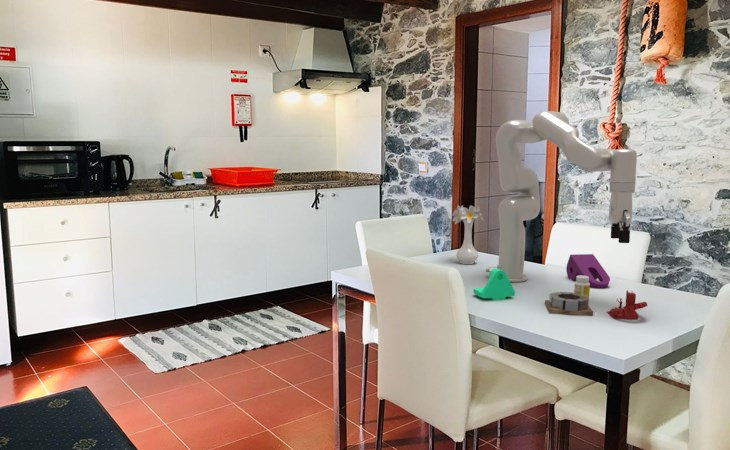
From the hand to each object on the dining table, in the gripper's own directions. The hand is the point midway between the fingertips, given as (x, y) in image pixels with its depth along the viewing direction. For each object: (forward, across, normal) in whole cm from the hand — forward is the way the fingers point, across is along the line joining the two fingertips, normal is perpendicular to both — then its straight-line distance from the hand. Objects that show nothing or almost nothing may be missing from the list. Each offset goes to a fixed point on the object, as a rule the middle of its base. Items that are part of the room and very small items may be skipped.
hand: (619, 240), depth 199 cm
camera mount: (+21, -2, -40) cm, 45 cm away
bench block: (+21, +9, -17) cm, 29 cm away
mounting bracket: (+21, -29, -2) cm, 36 cm away
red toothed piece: (+22, +14, -1) cm, 26 cm away
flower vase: (+19, -56, -48) cm, 76 cm away
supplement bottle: (+21, -2, -11) cm, 24 cm away
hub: (+20, +9, -17) cm, 28 cm away
